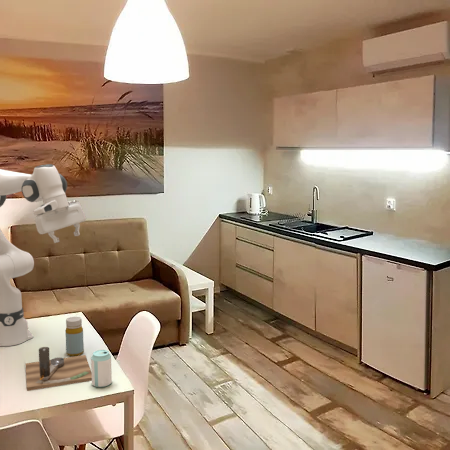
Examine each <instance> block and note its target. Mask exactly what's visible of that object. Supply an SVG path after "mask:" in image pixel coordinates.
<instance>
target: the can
mask: <svg viewBox="0 0 450 450" xmlns="http://www.w3.org/2000/svg"><path fill="white" fill-rule="evenodd" d="M90 360H91V362H90V365H91V367H90V369H91V372H92V381H91V384H92V386H94V387H96V388H105V387H108V386H110V385H111V384H112V380H113V379H112V378H113V376H112V373H113V372H112V355H111V354H110V351H109V350H108V349H107V350H106V349H98V350H95V351H93V353H92V355H91V358H90Z"/></svg>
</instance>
